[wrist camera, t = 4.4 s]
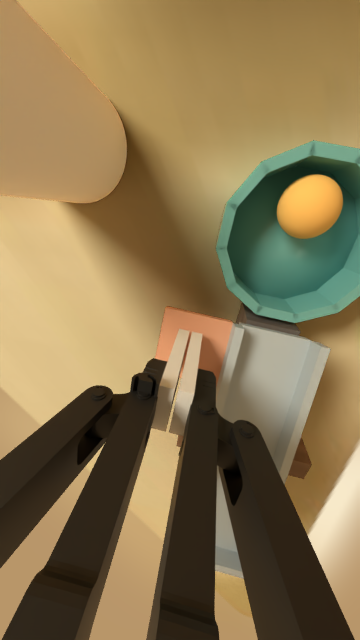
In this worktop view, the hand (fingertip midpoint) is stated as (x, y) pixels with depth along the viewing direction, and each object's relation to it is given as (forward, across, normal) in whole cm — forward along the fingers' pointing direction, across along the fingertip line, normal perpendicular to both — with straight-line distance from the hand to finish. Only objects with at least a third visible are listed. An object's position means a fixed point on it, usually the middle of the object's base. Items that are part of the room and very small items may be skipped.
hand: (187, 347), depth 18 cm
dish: (+7, +6, +8) cm, 12 cm away
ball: (+4, +6, +10) cm, 13 cm away
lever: (+1, +4, -8) cm, 9 cm away
